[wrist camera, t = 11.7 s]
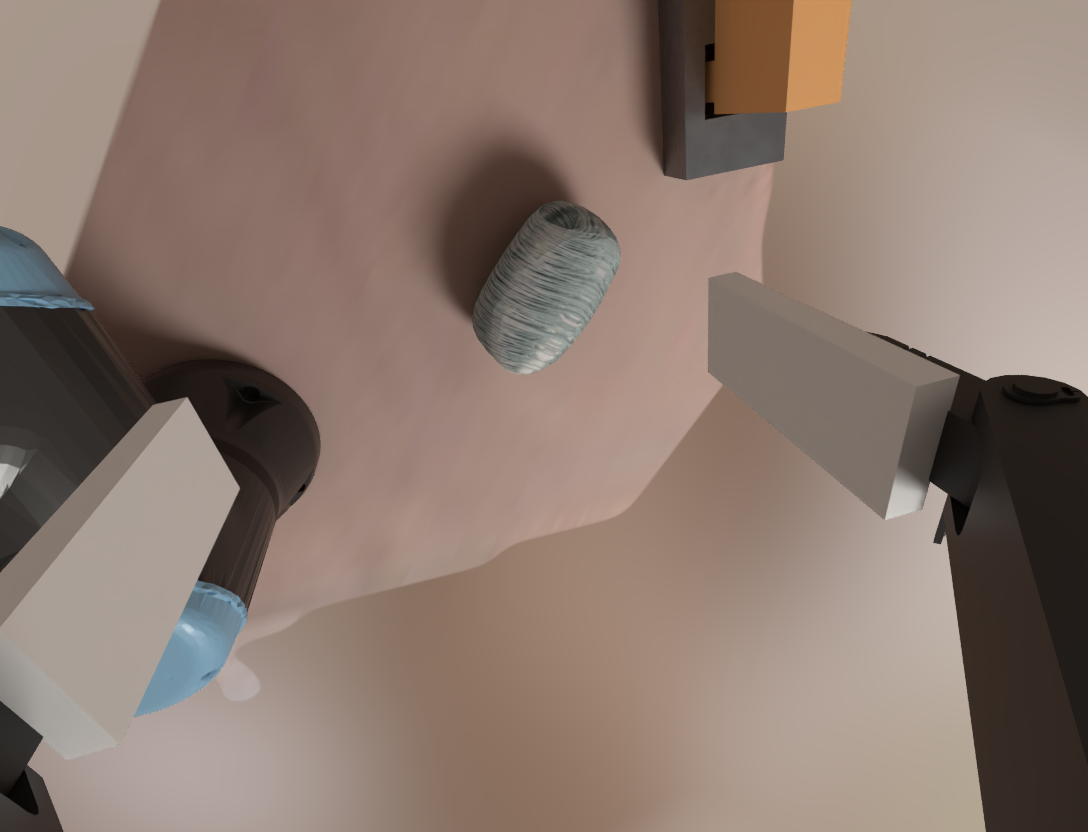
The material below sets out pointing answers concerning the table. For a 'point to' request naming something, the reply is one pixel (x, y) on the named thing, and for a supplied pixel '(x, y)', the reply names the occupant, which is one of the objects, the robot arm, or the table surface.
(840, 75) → the wooden arch block
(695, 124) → the cinder block
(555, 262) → the spool
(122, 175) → the table surface
